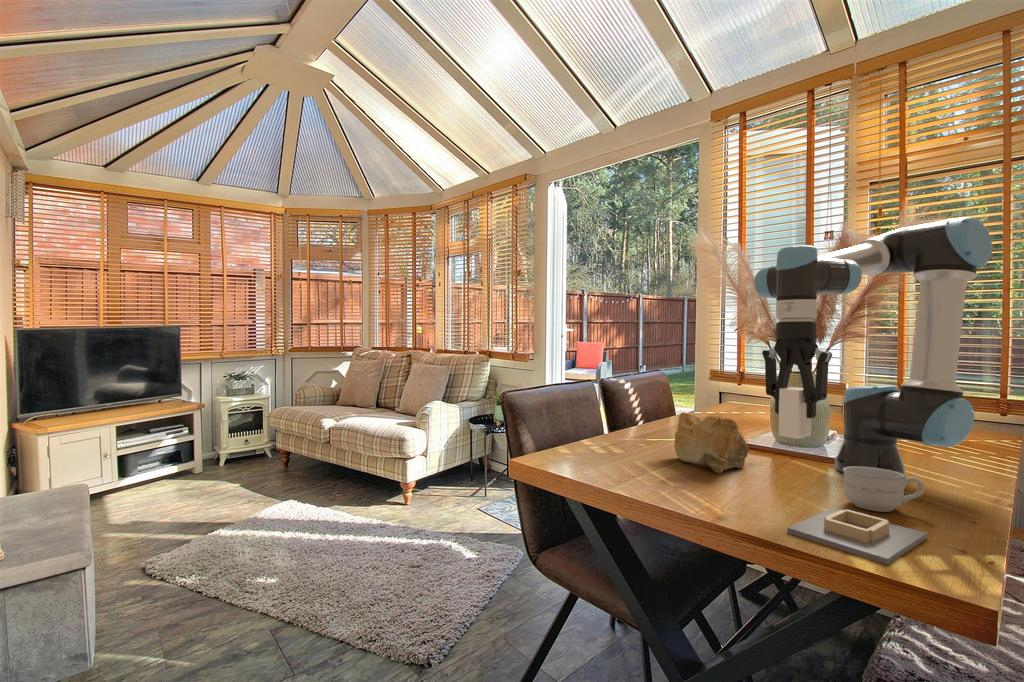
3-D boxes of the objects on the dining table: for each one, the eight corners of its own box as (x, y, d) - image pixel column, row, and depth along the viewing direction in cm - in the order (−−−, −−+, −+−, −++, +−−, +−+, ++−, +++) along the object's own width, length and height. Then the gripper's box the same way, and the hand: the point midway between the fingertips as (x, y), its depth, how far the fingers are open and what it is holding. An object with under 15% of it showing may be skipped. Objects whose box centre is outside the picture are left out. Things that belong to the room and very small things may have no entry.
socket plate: (831, 512, 107) (832, 498, 106) (927, 538, 93) (927, 522, 93) (787, 532, 96) (787, 517, 96) (887, 564, 83) (887, 546, 83)
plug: (791, 432, 111) (791, 387, 111) (810, 435, 108) (810, 388, 108) (778, 435, 109) (779, 388, 108) (798, 438, 105) (798, 390, 105)
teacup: (836, 507, 110) (837, 470, 110) (849, 495, 117) (849, 461, 117) (919, 525, 100) (919, 484, 100) (927, 511, 108) (927, 473, 107)
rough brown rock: (772, 479, 133) (775, 421, 133) (715, 478, 129) (719, 419, 130) (717, 460, 156) (720, 410, 156) (668, 458, 152) (671, 408, 152)
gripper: (747, 321, 113) (746, 427, 113) (831, 320, 99) (829, 440, 99) (766, 321, 117) (765, 423, 118) (848, 320, 103) (847, 436, 103)
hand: (794, 431), depth 108 cm, fingers closed on plug, 4 cm apart
